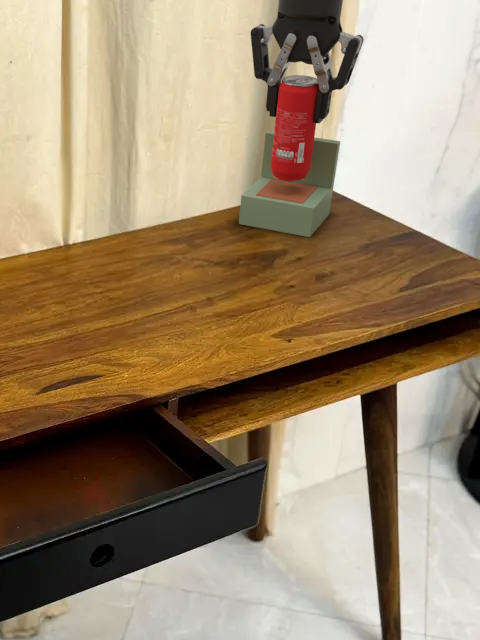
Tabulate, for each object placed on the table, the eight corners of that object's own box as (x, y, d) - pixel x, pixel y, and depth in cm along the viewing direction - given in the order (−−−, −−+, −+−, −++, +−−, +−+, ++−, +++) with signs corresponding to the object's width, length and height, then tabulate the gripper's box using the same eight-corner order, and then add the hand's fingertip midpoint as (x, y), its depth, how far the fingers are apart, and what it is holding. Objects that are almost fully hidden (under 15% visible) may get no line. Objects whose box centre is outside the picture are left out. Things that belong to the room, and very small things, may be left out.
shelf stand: (329, 214, 136) (340, 141, 130) (309, 237, 130) (320, 161, 124) (260, 202, 140) (268, 130, 134) (238, 224, 134) (245, 149, 128)
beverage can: (261, 174, 131) (271, 79, 124) (288, 166, 134) (299, 72, 126) (290, 185, 128) (302, 88, 121) (317, 176, 130) (330, 80, 123)
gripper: (245, -31, 116) (233, 118, 126) (366, -20, 111) (343, 134, 121) (266, -41, 121) (253, 103, 131) (383, -31, 116) (359, 118, 126)
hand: (296, 117), depth 126 cm, fingers closed on beverage can, 5 cm apart
